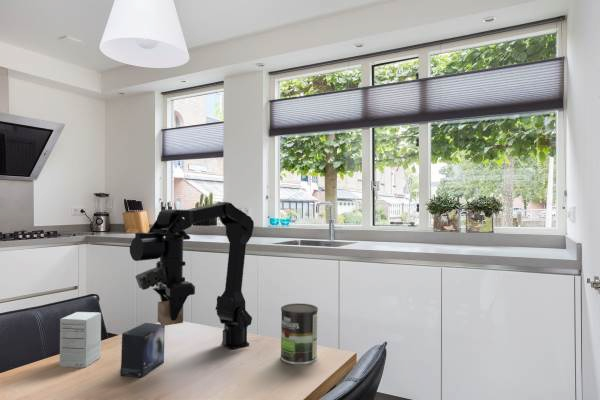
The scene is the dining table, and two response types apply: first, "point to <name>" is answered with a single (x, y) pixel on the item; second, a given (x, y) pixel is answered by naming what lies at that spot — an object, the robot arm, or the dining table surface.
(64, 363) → the supplement box
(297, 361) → the coffee can
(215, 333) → the dining table surface
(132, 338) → the small box
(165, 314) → the walnut cube
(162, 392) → the dining table surface
